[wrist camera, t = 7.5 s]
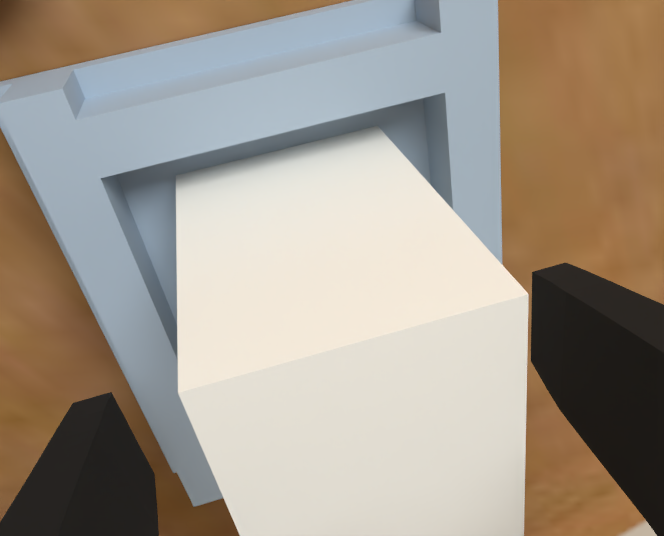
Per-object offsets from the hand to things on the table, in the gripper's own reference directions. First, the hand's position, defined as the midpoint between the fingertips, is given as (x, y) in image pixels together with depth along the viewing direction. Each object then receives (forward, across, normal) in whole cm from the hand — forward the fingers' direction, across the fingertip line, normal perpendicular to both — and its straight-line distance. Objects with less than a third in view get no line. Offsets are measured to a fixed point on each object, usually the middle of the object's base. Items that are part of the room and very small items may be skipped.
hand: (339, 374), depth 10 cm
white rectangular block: (+3, 0, 0) cm, 4 cm away
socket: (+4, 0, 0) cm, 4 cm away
